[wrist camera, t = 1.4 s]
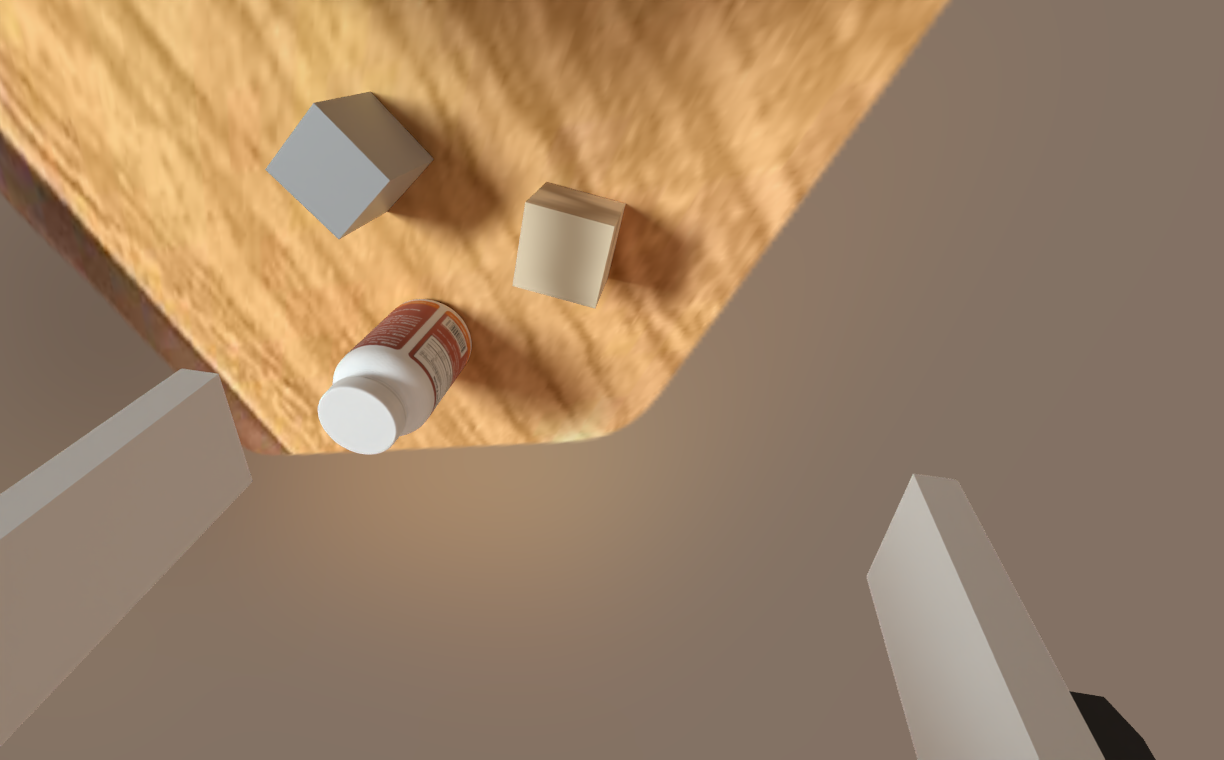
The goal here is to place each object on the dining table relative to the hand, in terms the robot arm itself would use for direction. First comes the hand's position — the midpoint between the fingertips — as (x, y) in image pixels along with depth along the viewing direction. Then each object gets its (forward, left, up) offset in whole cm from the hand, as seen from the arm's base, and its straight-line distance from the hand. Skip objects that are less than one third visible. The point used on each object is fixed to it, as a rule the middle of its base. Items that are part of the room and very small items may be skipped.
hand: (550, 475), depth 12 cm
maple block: (-3, -6, -28) cm, 29 cm away
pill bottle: (-8, -18, -28) cm, 34 cm away
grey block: (-16, -8, -28) cm, 33 cm away
